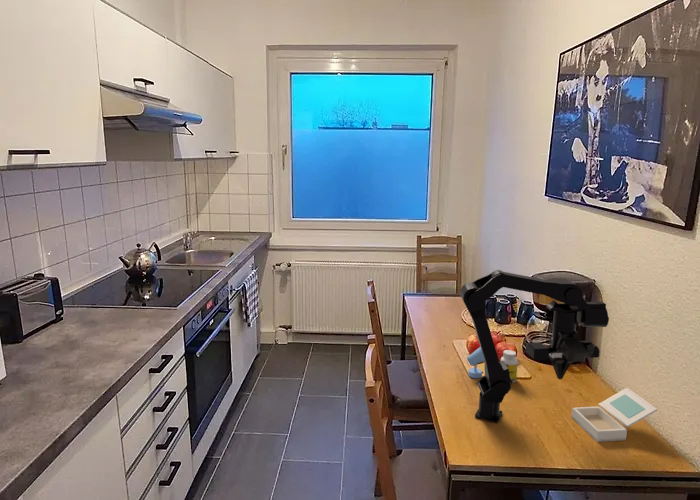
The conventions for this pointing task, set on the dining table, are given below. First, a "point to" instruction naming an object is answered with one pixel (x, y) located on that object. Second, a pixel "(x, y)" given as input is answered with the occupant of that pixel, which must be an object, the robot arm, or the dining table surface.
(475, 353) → the spotlight
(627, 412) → the lid
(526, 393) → the dining table surface
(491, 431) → the dining table surface
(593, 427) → the box
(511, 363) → the supplement bottle
